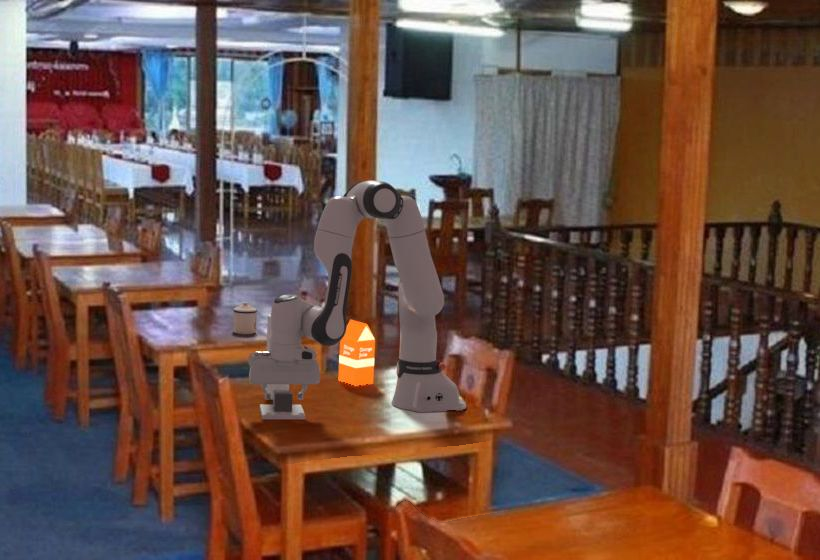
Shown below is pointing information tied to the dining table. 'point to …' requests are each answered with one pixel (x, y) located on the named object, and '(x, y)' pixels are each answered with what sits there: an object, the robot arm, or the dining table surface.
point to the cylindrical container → (270, 387)
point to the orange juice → (357, 355)
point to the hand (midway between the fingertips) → (284, 399)
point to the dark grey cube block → (282, 401)
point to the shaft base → (269, 413)
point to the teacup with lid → (245, 319)
